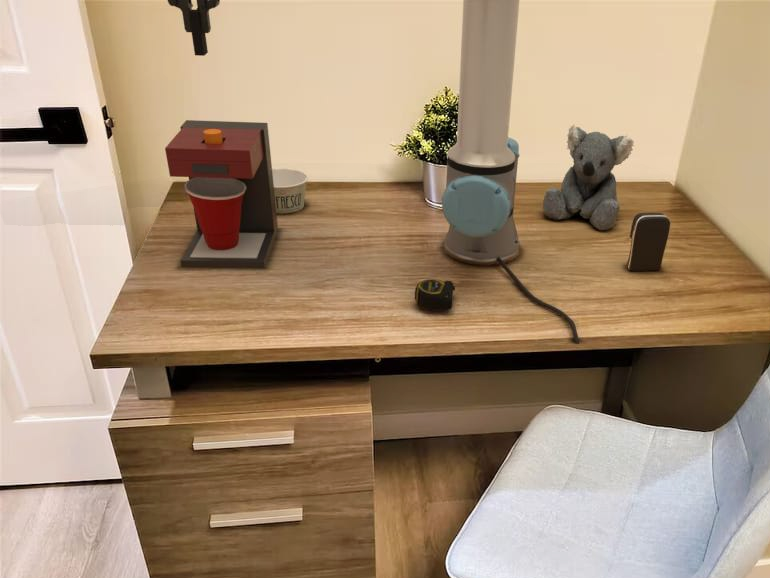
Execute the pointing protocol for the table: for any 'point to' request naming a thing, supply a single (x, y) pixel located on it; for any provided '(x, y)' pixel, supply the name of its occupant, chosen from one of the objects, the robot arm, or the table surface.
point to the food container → (289, 189)
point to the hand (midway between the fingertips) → (201, 53)
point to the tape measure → (434, 294)
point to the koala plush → (589, 179)
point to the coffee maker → (230, 160)
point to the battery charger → (648, 241)
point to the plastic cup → (217, 209)
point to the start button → (213, 136)
